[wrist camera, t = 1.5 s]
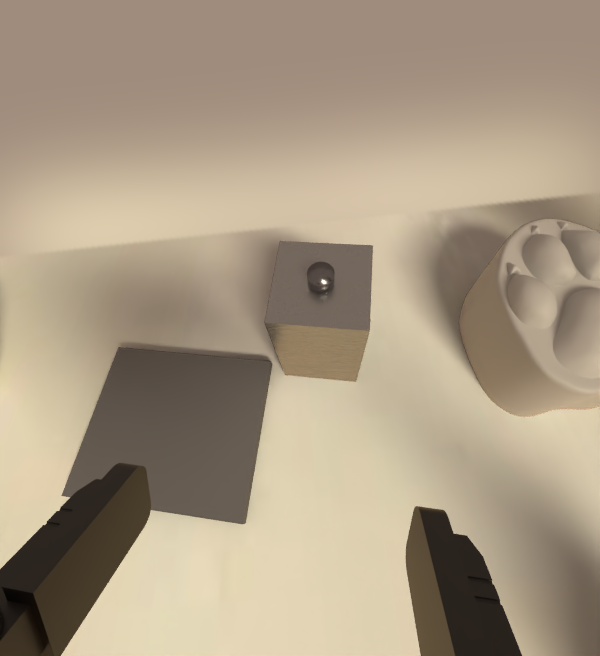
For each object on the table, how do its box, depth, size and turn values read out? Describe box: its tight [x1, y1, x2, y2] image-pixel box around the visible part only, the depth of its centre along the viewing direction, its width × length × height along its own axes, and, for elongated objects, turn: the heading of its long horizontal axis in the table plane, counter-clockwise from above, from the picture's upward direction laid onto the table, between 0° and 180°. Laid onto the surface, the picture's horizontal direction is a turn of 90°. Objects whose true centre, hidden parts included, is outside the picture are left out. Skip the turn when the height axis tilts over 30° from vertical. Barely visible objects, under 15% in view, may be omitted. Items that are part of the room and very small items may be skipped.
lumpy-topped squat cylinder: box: [459, 219, 600, 417], centre depth 24 cm, size 10×13×9 cm
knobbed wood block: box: [265, 241, 373, 382], centre depth 24 cm, size 6×6×11 cm
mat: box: [62, 347, 272, 524], centre depth 26 cm, size 14×12×1 cm
